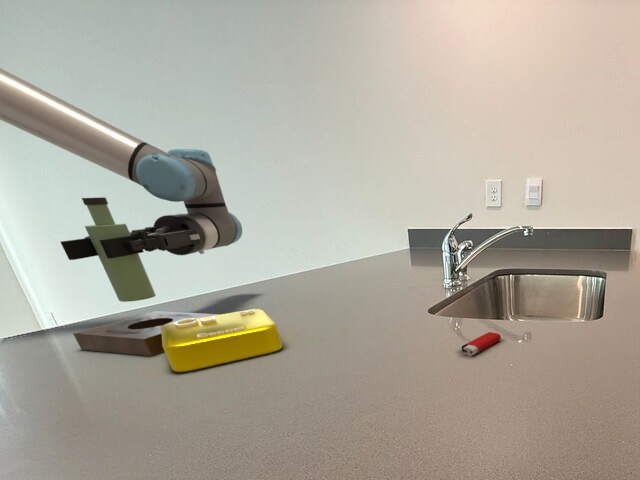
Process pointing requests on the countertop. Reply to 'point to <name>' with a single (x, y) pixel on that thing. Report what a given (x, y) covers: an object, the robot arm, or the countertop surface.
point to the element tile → (219, 339)
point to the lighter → (480, 343)
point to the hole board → (132, 333)
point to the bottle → (121, 270)
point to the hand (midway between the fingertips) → (87, 250)
